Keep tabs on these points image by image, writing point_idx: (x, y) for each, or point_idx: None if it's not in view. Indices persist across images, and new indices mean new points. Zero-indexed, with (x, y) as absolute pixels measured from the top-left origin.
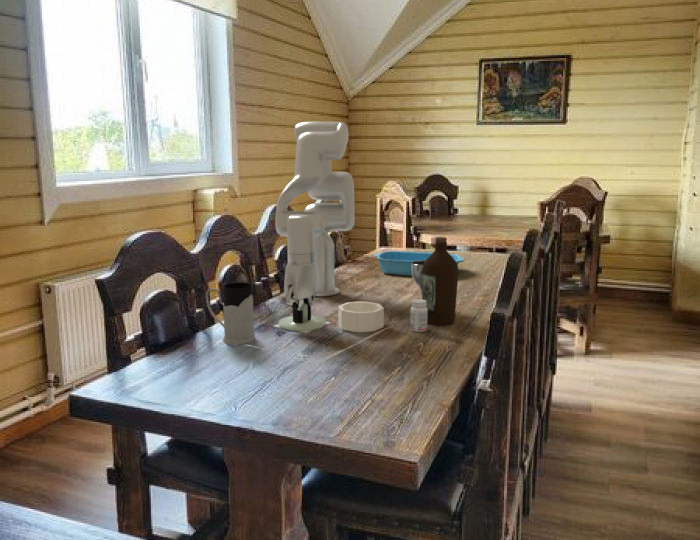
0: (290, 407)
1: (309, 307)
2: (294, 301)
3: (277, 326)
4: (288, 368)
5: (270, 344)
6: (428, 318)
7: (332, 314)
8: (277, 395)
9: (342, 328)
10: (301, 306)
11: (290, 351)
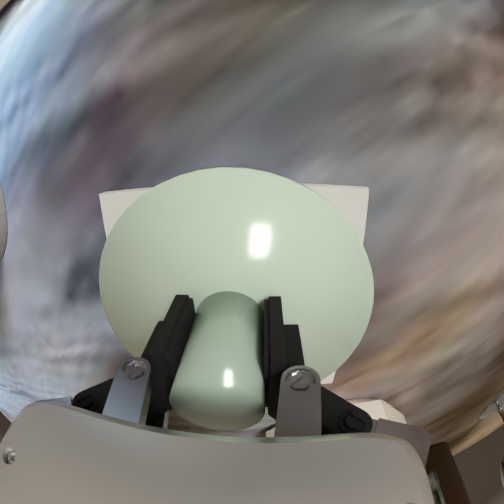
0: (14, 415)
1: (268, 408)
2: (133, 418)
3: (109, 223)
4: (27, 396)
5: (22, 318)
6: None
7: (465, 298)
8: (6, 401)
9: (265, 436)
10: (182, 416)
11: (48, 379)
